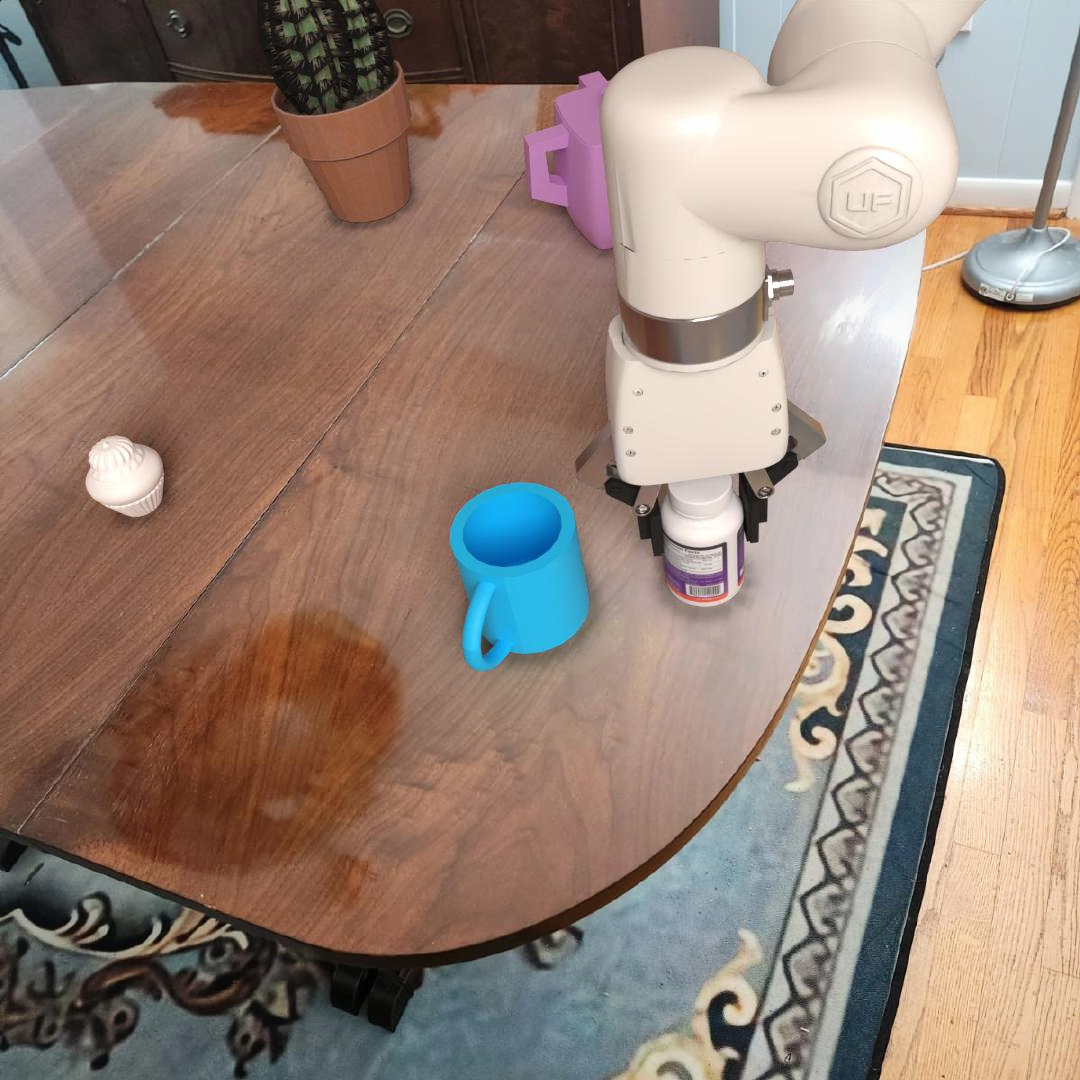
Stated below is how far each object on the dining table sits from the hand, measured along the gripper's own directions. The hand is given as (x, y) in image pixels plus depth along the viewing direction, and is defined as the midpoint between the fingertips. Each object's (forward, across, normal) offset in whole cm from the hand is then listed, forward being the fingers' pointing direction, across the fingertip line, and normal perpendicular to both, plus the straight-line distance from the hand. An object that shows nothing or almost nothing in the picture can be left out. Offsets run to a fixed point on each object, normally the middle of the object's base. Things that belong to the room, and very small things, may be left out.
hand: (702, 531), depth 66 cm
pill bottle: (+5, 0, 0) cm, 5 cm away
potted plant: (+5, +27, -59) cm, 65 cm away
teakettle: (+5, -1, -49) cm, 49 cm away
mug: (+5, +13, +2) cm, 14 cm away
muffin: (+5, +44, -16) cm, 47 cm away
